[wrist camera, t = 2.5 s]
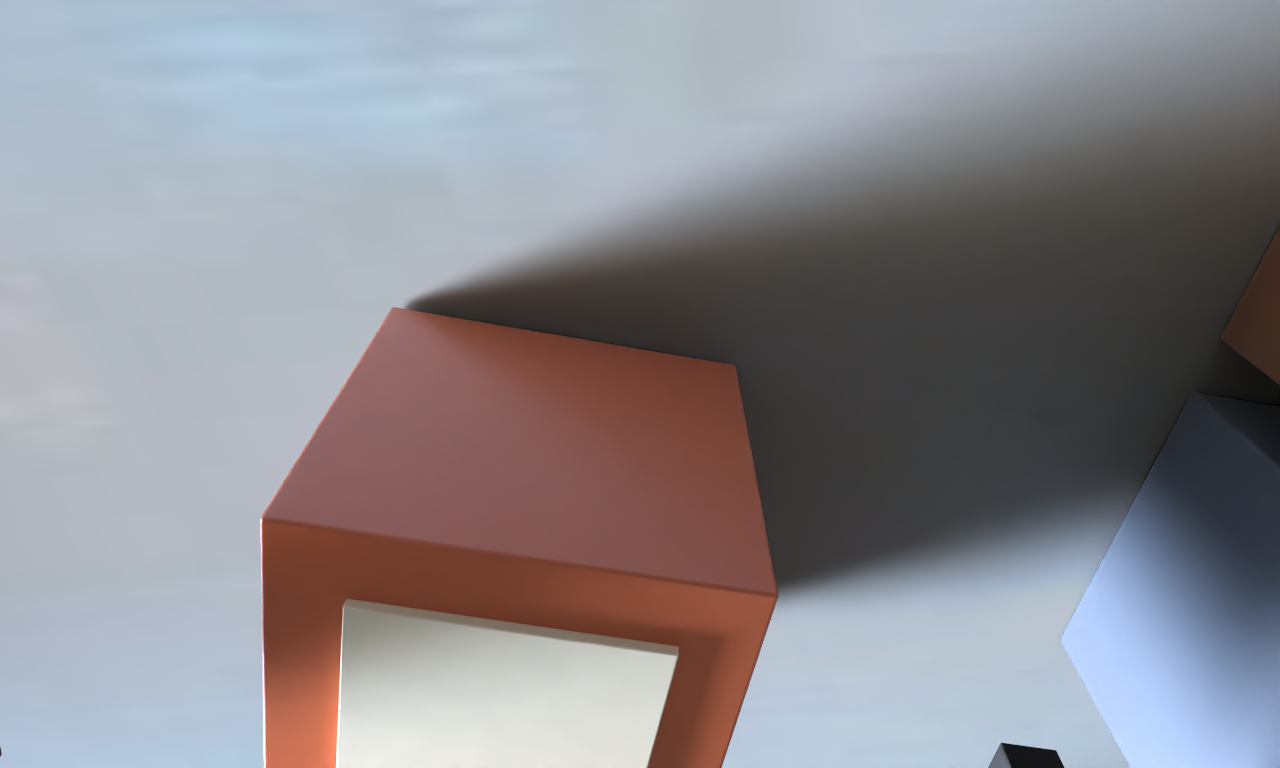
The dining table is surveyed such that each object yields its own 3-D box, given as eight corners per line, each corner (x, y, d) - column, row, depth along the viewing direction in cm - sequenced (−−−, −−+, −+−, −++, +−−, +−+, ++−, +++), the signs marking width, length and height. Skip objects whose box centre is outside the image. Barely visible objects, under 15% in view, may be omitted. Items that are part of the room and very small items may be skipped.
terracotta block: (392, 305, 15) (252, 526, 10) (736, 363, 16) (782, 604, 11) (375, 577, 18) (260, 864, 13) (669, 620, 19) (677, 914, 13)
